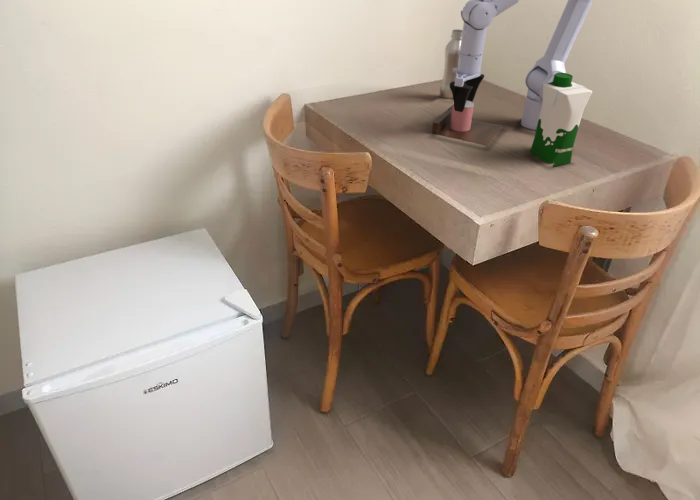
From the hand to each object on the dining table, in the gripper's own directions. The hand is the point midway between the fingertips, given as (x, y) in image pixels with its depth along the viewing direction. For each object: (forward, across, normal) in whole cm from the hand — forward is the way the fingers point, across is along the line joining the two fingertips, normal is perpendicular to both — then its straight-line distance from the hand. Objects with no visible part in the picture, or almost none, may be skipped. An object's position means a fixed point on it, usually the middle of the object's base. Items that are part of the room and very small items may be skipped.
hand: (463, 106), depth 141 cm
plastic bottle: (+7, -23, -11) cm, 27 cm away
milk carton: (+7, +5, +25) cm, 26 cm away
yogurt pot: (+6, 0, 0) cm, 6 cm away
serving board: (+7, 0, +2) cm, 7 cm away
